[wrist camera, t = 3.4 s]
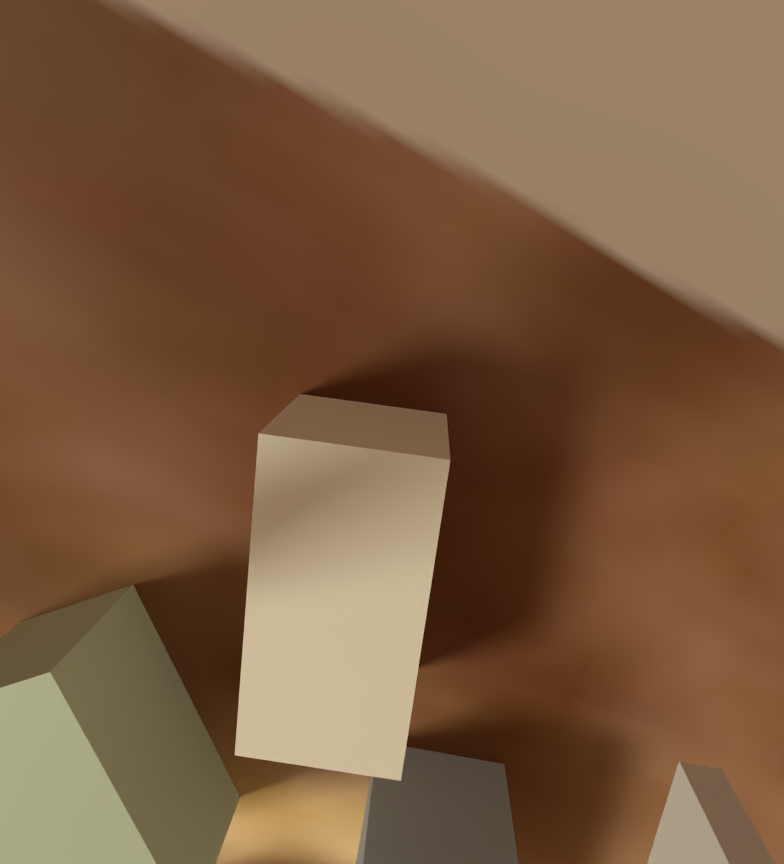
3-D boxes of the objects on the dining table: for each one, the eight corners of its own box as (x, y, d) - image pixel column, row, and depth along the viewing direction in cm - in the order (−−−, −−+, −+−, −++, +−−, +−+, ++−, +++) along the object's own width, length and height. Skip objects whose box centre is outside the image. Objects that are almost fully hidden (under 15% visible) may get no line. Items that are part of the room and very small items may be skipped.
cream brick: (301, 393, 20) (258, 433, 15) (446, 412, 20) (450, 459, 15) (278, 648, 22) (234, 755, 17) (408, 668, 22) (400, 780, 17)
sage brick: (21, 620, 23) (-91, 716, 18) (135, 582, 22) (50, 672, 17) (134, 822, 24) (60, 959, 20) (241, 793, 24) (191, 927, 19)
